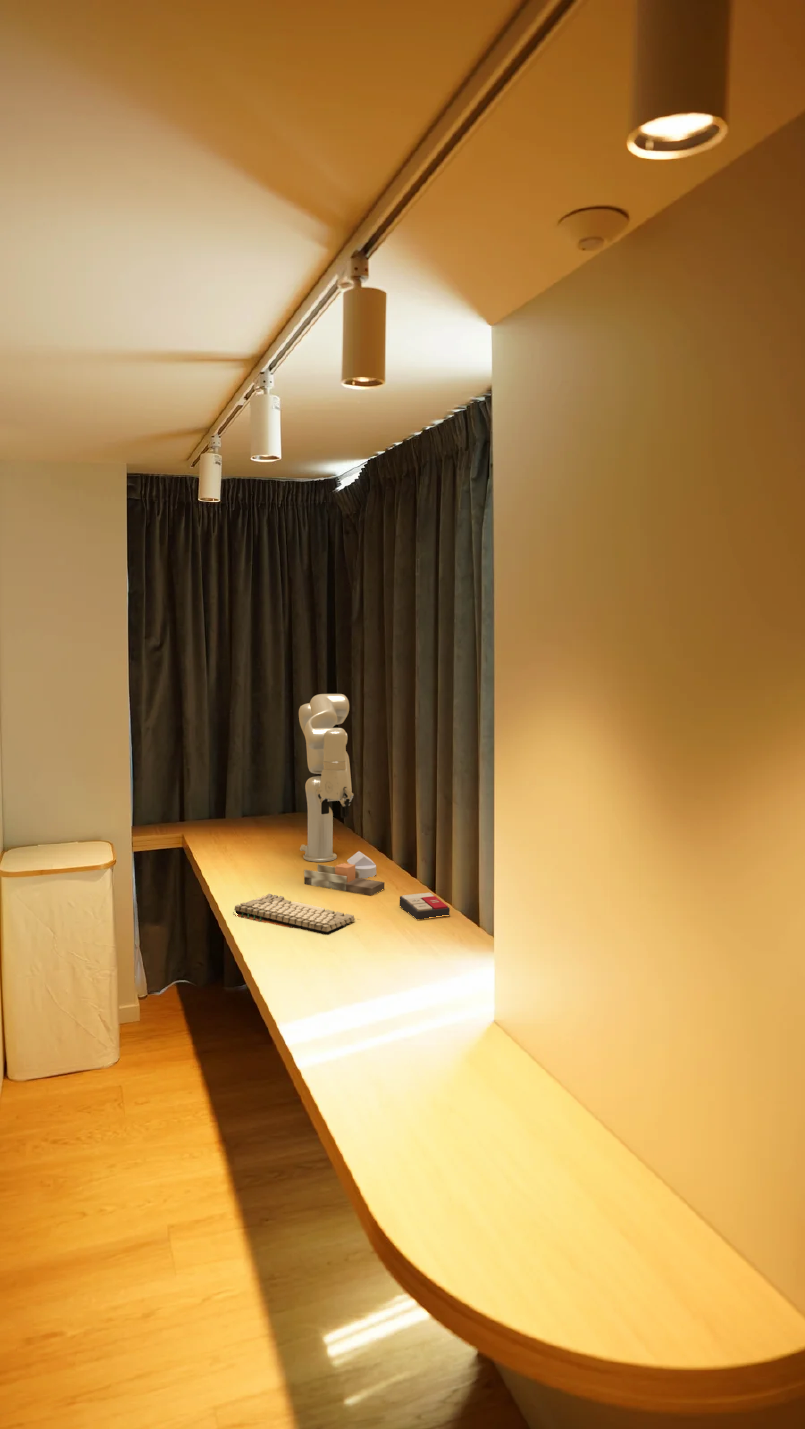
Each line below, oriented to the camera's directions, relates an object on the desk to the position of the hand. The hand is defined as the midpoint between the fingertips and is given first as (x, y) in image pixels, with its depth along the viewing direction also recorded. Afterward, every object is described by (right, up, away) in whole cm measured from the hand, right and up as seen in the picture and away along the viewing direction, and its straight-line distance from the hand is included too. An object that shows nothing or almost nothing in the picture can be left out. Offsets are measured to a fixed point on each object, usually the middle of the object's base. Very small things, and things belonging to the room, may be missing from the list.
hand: (334, 815), depth 332 cm
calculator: (+30, -28, -28) cm, 50 cm away
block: (+4, -22, -2) cm, 22 cm away
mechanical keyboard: (-10, -28, -35) cm, 46 cm away
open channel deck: (+3, -24, -2) cm, 24 cm away
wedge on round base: (+9, -23, +16) cm, 29 cm away
